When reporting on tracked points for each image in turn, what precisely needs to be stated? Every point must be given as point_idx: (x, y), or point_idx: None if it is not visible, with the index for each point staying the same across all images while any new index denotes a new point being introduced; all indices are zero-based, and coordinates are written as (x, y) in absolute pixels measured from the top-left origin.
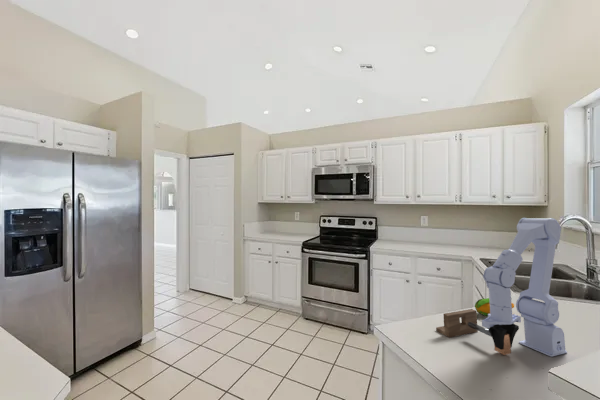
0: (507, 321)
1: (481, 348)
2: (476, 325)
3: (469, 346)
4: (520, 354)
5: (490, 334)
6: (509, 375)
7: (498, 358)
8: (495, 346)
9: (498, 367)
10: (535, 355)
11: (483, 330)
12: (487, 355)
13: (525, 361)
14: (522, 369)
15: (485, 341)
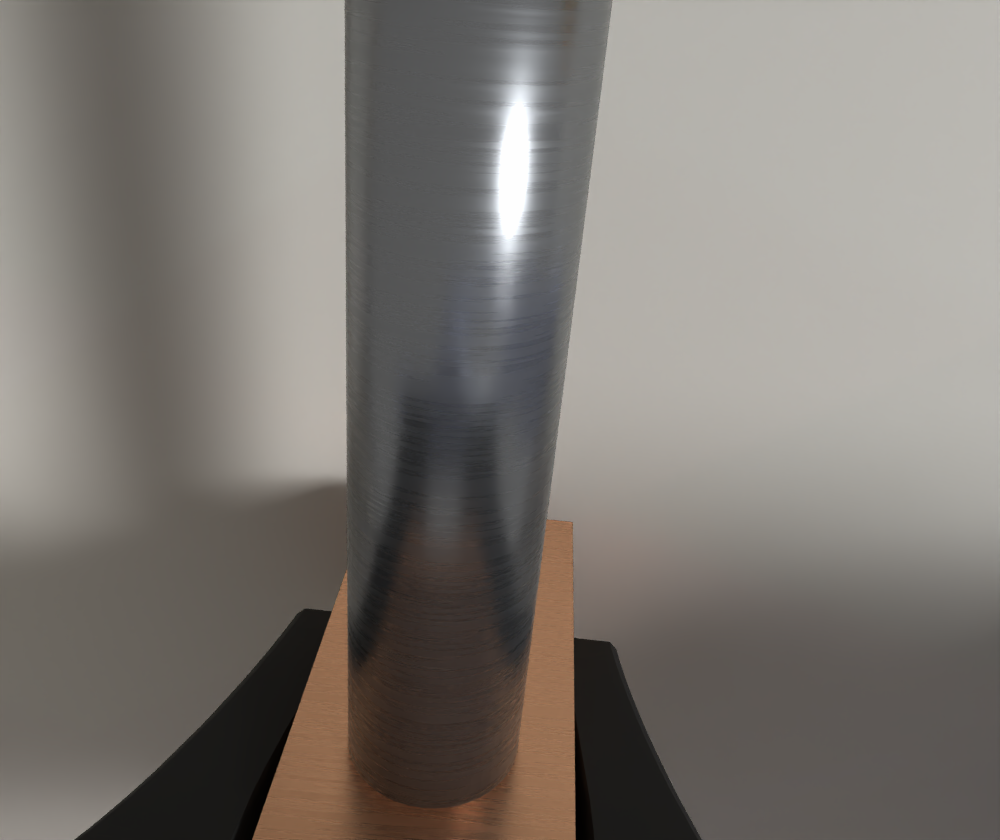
0: None
1: (274, 251)
2: (397, 31)
3: (64, 57)
4: (759, 673)
5: (348, 616)
6: (4, 828)
7: (250, 593)
8: (299, 614)
9: (14, 706)
10: (943, 773)
11: (348, 405)
12: (145, 467)
13: None
14: None
15: (738, 52)
